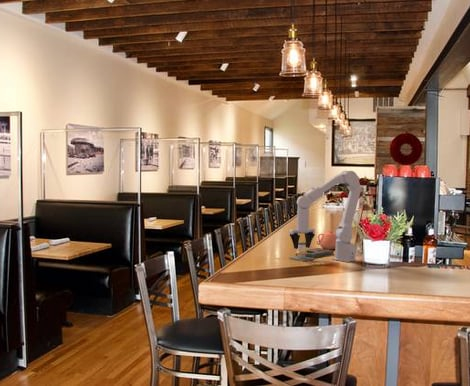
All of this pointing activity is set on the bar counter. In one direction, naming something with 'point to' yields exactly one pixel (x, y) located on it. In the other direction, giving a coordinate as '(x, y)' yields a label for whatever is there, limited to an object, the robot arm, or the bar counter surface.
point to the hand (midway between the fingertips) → (301, 248)
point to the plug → (301, 250)
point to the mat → (301, 259)
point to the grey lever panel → (318, 252)
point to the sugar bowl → (327, 240)
